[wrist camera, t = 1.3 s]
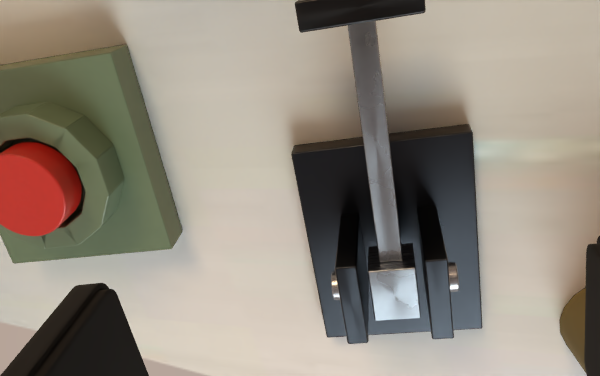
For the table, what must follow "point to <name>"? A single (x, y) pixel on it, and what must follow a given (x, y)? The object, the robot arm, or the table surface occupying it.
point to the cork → (575, 326)
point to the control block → (90, 153)
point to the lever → (374, 145)
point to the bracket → (412, 222)
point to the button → (36, 189)
